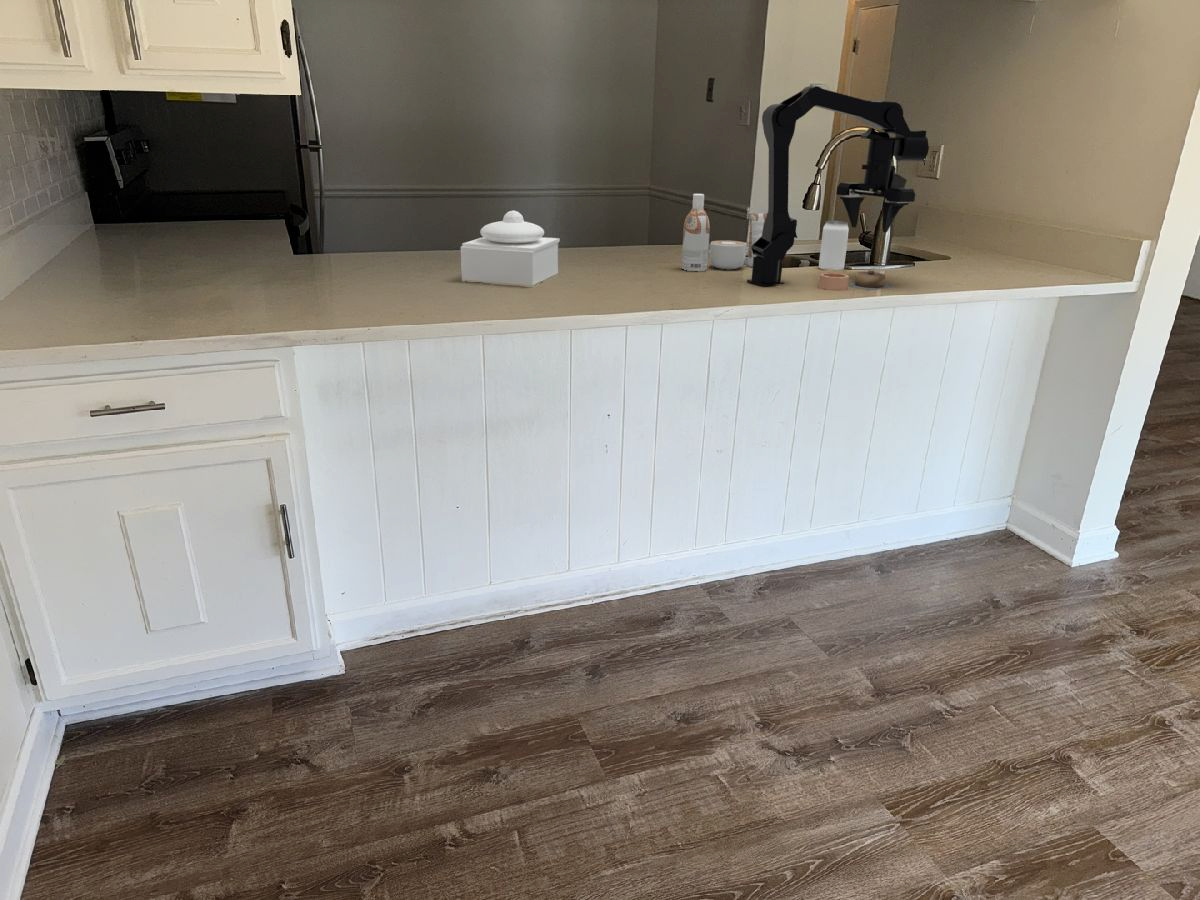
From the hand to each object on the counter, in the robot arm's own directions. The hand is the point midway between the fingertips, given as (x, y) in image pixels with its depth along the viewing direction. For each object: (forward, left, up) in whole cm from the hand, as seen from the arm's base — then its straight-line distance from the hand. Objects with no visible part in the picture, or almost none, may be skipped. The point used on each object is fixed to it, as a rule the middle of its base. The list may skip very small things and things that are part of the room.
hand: (869, 229), depth 202 cm
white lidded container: (-74, +41, -13) cm, 86 cm away
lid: (-3, -5, -12) cm, 13 cm away
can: (+7, +17, -13) cm, 23 cm away
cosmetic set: (-18, +30, -13) cm, 37 cm away
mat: (-3, -5, -13) cm, 14 cm away
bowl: (-13, -3, -13) cm, 18 cm away
